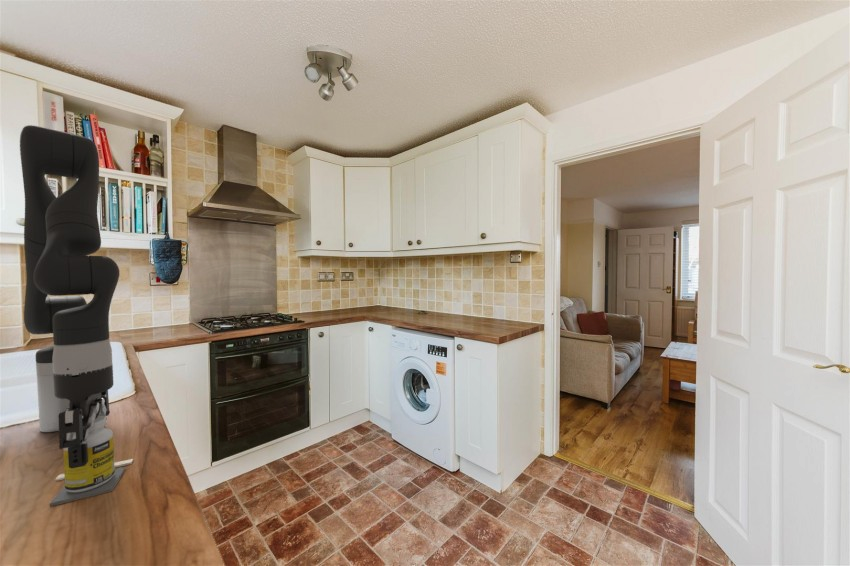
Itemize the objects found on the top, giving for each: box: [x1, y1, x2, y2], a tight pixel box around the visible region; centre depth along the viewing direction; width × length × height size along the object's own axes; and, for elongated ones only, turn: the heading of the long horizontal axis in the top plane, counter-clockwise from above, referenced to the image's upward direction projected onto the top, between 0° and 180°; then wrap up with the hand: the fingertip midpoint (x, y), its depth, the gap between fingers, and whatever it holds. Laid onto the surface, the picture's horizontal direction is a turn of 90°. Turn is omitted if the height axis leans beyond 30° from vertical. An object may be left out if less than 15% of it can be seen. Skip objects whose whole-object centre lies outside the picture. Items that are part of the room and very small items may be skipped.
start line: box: [54, 458, 134, 482], centre depth 67 cm, size 2×11×1 cm, turn 119°
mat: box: [49, 466, 126, 507], centre depth 62 cm, size 8×8×1 cm
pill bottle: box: [62, 416, 116, 493], centre depth 61 cm, size 6×6×12 cm
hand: (88, 454), depth 61 cm, fingers open, 8 cm apart
